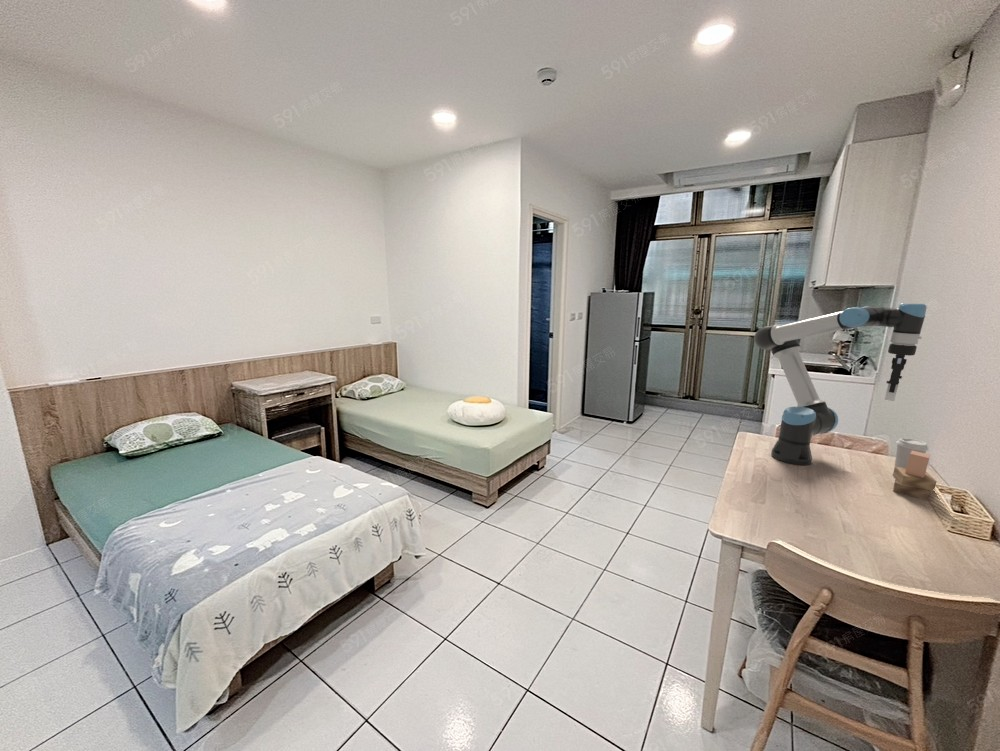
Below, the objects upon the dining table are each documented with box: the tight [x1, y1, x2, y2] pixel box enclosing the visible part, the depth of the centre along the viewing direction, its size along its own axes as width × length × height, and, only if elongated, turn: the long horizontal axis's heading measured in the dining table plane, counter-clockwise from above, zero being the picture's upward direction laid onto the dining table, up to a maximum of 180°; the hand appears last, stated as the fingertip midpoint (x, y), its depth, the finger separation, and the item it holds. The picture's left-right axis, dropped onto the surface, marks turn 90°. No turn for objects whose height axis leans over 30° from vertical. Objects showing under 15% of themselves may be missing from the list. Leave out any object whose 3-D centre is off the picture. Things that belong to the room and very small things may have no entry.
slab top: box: [892, 466, 937, 492], centre depth 153 cm, size 9×9×4 cm
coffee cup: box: [894, 437, 929, 468], centre depth 167 cm, size 10×10×15 cm
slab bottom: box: [892, 478, 932, 502], centre depth 154 cm, size 10×10×4 cm
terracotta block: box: [905, 451, 932, 478], centre depth 152 cm, size 5×5×8 cm
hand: (890, 397), depth 158 cm, fingers open, 13 cm apart
